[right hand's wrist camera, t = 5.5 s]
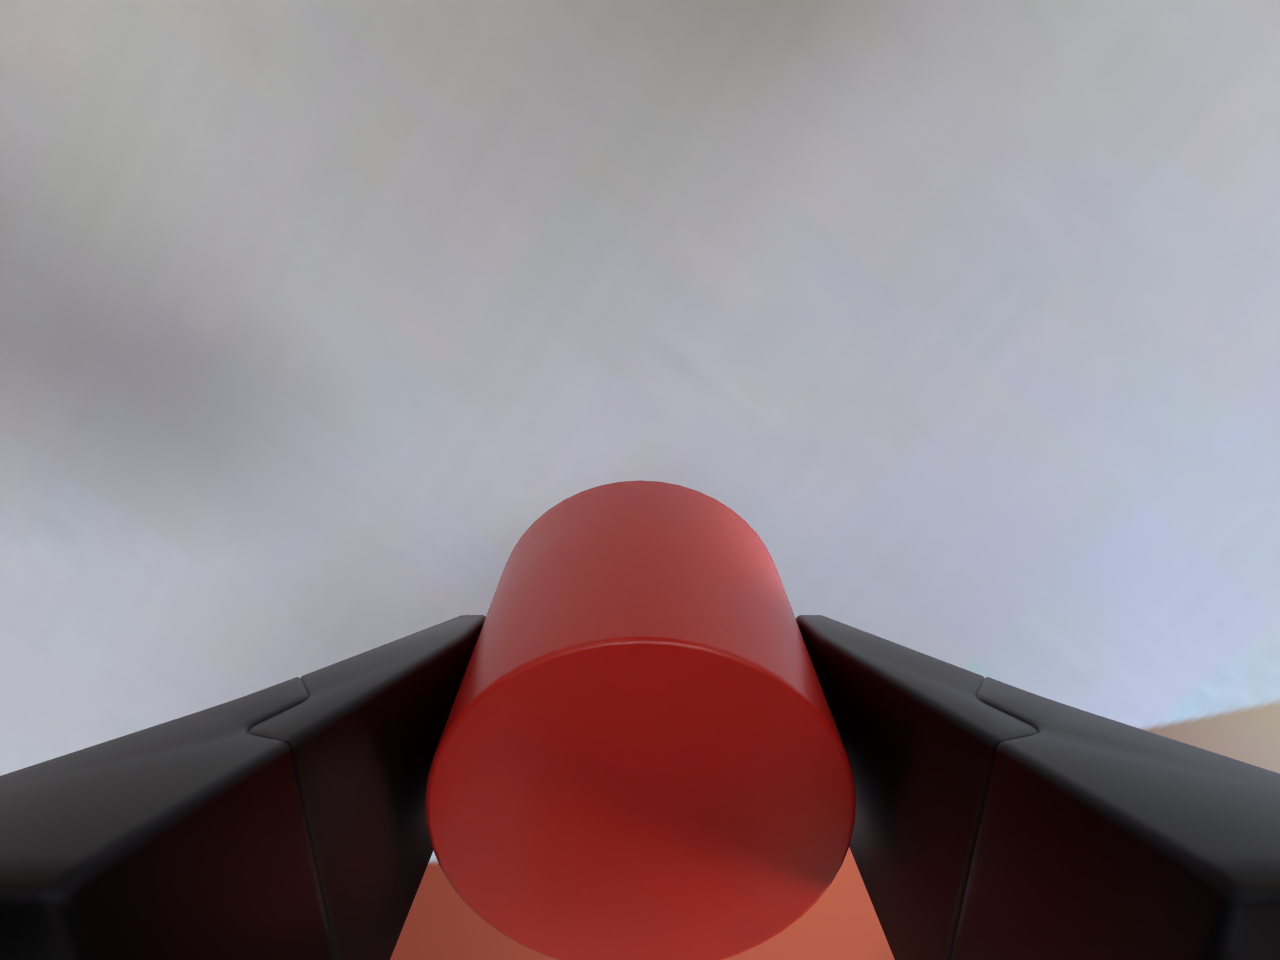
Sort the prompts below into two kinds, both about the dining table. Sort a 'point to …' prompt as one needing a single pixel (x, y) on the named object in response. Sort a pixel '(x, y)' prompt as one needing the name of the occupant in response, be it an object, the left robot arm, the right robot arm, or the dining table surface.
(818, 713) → the cylinder
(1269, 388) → the dining table surface
